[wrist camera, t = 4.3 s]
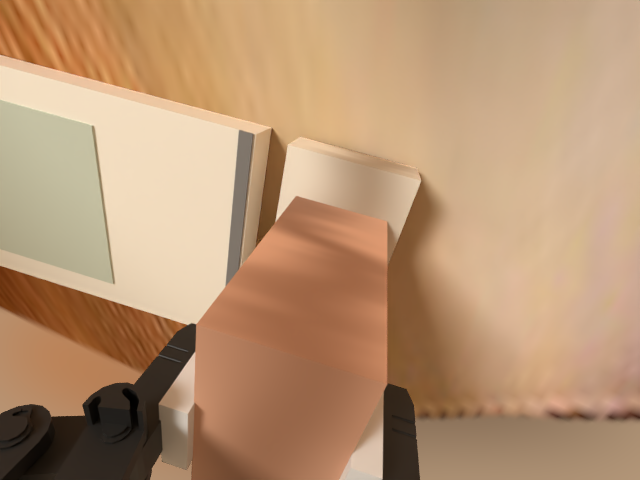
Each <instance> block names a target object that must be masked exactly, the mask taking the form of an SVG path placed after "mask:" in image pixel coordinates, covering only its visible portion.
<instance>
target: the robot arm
mask: <svg viewBox="0 0 640 480" xmlns="http://www.w3.org/2000/svg"><path fill="white" fill-rule="evenodd" d="M195 349H196V324H194V323H191V324H189V325H187V326H186V327H184V328H183V329H181V330H179V331H178V332H177V333H176V334H175V335H174V337H173V338H172V339H171V340H170V341H169V343H168V344H167V346H165V347H164V349H163V350H162V351H161V352H160V354H159V356H158V357H156V358H155V360H154V361H153V362H152V363H151V364H150V366H149V367H148V368H147V369H146V371H145V372H144V373H143V374H142V375H141V377H140V378H139V379H138V380H137V381H136V383H135V384H134V385H133V384H130V383H115V384H112V385H109V386H106V387H103V388H101V389H100V390H98V391H97V392H95V393H94V394H92V395H91V396H90V397H89V398H88V399H87V400H86V402H84V403H83V409H84V413H85V416H61V417H60V416H58V417H51V415H50V413H49V411H48V410H47V409H46V408H44V407H43V406H40V405H33V404H30V405H24V406H18V407H16V408H13V409H10V410H8V411H5V412H3V413H1V414H0V480H150V477H151V473H152V467H153V465H154V464H155V462H156V460H157V459H158V457H159V455H160V454H161V455H162V462H165V463H167V464H171V465H173V466H176V467H179V468H182V469H185V470H187V469H188V467H189V465H190V463H191V461H192V459H193V435H194V406H195V402H194V382H195ZM339 480H420V475H419V463H418V451H417V440H416V426H415V413H414V405H413V402H412V400H411V398H410V396H409V394H408V391H407V389H404V388H401V387H397V386H394V385H391V384H388V383H387V386H386V388H385V390H384V392H383V394H382V396H381V398H380V400H379V402H378V404H377V406H376V408H375V410H374V412H373V414H372V415H371V417H370V419H369V421H368V423H367V425H366V427H365V429H364V431H363V433H362V435H361V437H360V439H359V441H358V443H357V445H356V447H355V449H354V451H353V453H352V455H351V457H350V459H349V461H348V463H347V465H346V467H345V469H344V471H343V473H342V475H341V477H340V479H339Z"/></svg>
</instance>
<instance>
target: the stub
mask: <svg viewBox="0 0 640 480" xmlns="http://www.w3.org/2000/svg"><path fill="white" fill-rule="evenodd" d="M420 183H421V178H420V175H419V172H418V169H417V168H416V167H412V166H408V165H404V164H401V163H397V162H393V161H389V160H386V159H382V158H378V157H375V156H371V155H367V154H363V153H360V152H356V151H352V150H348V149H345V148H341V147H337V146H333V145H330V144H326V143H322V142H319V141H315V140H311V139H307V138H304V137H299V138H297V139H296V140H294V141H293V142H291V143H290V144H289V145H288V148H287V154H286V160H285V166H284V172H283V179H282V185H281V191H280V197H279V203H278V209H277V215H276V221H275V224H274V225H273V226H272V227H271V229H270V230H269V231H268V233H267V234H266V235H265V236H264V238H263V239H262V240H261V242H260V243H259V244H258V245H257V247H256V248H255V249H254V251H253V252H252V253H251V254H250V256H249V257H248V258H247V260H246V261H245V262H244V263H243V265H242V266H241V267H240V269H239V270H238V271H237V272H236V274H235V275H234V276H233V278H232V279H231V280H230V282H229V283H228V284H227V285H226V287H225V288H224V289H223V291H222V292H221V293H220V294H219V296H218V297H217V298H216V300H215V301H214V302H213V303H212V305H211V306H210V307H209V309H208V310H207V311H206V312H205V314H204V315H203V316H202V318H201V319H200V320H199V321H198V323H197V324H196V349H195V382H194V402H195V406H194V435H193V459H192V479H191V480H339V479H340V477H341V475H342V473H343V471H344V469H345V467H346V465H347V463H348V461H349V459H350V457H351V455H352V453H353V451H354V449H355V447H356V445H357V443H358V441H359V439H360V437H361V435H362V433H363V431H364V429H365V427H366V425H367V423H368V421H369V419H370V417H371V415H372V414H373V412H374V410H375V408H376V406H377V404H378V402H379V400H380V398H381V396H382V394H383V392H384V390H385V388H386V386H387V267H388V264H389V262H390V259H391V257H392V254H393V252H394V249H395V247H396V244H397V242H398V239H399V236H400V234H401V231H402V229H403V226H404V224H405V221H406V219H407V216H408V214H409V211H410V208H411V206H412V203H413V201H414V198H415V196H416V193H417V191H418V188H419V185H420Z"/></svg>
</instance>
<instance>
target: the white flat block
mask: <svg viewBox="0 0 640 480" xmlns="http://www.w3.org/2000/svg"><path fill="white" fill-rule="evenodd" d="M271 130H272V127H268V126H264V125H260V124H257V123H253V122H249V121H246V120H242V119H238V118H234V117H231V116H227V115H223V114H219V113H216V112H212V111H208V110H204V109H201V108H197V107H193V106H189V105H186V104H182V103H178V102H174V101H171V100H167V99H163V98H159V97H156V96H152V95H148V94H145V93H141V92H137V91H133V90H130V89H126V88H122V87H118V86H115V85H111V84H107V83H103V82H100V81H96V80H92V79H88V78H85V77H81V76H77V75H73V74H70V73H66V72H62V71H59V70H55V69H51V68H47V67H44V66H40V65H36V64H32V63H29V62H25V61H21V60H17V59H14V58H10V57H6V56H2V55H0V266H2V267H6V268H9V269H12V270H15V271H18V272H21V273H25V274H28V275H31V276H34V277H37V278H40V279H44V280H47V281H50V282H53V283H56V284H60V285H63V286H66V287H69V288H72V289H75V290H79V291H82V292H85V293H88V294H91V295H94V296H98V297H101V298H104V299H107V300H110V301H114V302H117V303H120V304H123V305H126V306H129V307H133V308H136V309H139V310H142V311H145V312H149V313H152V314H155V315H158V316H161V317H164V318H168V319H171V320H174V321H177V322H180V323H183V324H187V325H189V324H191V323H194V324H197V323H198V321H199V320H200V319H201V318H202V316H203V315H204V314H205V312H206V311H207V310H208V309H209V307H210V306H211V305H212V303H213V302H214V301H215V300H216V298H217V297H218V296H219V294H220V293H221V292H222V291H223V289H224V288H225V287H226V285H227V284H228V283H229V282H230V280H231V279H232V278H233V276H234V275H235V274H236V272H237V271H238V270H239V269H240V267H241V266H242V265H243V263H244V262H245V261H246V260H247V258H248V257H249V256H250V254H251V253H252V252H253V251H254V249H255V248H256V240H257V233H258V226H259V218H260V211H261V204H262V196H263V189H264V181H265V174H266V167H267V159H268V152H269V145H270V137H271Z"/></svg>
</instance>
